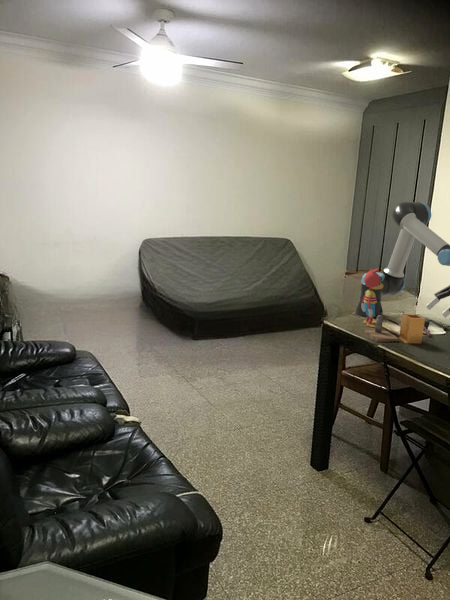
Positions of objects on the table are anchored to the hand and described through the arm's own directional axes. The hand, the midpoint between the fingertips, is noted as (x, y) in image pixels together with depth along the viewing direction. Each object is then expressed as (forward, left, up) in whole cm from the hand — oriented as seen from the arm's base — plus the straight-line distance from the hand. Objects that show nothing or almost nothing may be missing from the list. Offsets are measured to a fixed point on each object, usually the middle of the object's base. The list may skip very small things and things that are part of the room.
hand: (435, 311), depth 228 cm
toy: (-26, -19, -15) cm, 36 cm away
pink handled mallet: (-15, +3, -15) cm, 21 cm away
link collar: (0, -10, -14) cm, 18 cm away
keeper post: (-7, -22, -14) cm, 28 cm away
